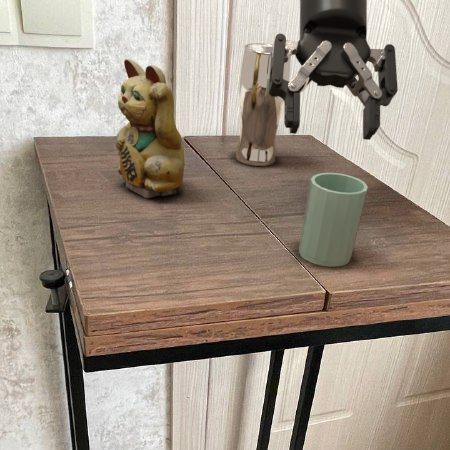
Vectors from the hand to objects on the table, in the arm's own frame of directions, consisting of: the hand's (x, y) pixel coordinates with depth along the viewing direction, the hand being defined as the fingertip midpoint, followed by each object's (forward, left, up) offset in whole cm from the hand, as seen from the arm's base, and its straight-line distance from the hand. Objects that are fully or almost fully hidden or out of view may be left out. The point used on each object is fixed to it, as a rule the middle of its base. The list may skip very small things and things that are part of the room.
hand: (332, 133), depth 70 cm
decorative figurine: (+20, -10, -12) cm, 25 cm away
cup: (0, +7, -11) cm, 13 cm away
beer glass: (+5, -24, -12) cm, 27 cm away
